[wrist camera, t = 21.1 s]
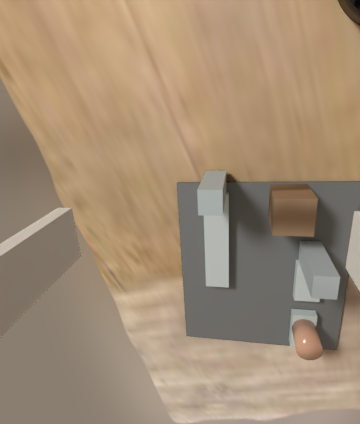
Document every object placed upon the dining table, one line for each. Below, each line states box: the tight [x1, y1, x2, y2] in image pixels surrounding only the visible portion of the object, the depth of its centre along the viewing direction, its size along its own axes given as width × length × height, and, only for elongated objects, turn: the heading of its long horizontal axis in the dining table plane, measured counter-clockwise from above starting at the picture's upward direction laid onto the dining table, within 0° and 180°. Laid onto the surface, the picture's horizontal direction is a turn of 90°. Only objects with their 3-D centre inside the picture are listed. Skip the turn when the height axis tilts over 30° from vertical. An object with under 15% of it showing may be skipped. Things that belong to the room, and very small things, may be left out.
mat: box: [177, 181, 360, 350], centre depth 53 cm, size 32×28×1 cm
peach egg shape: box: [292, 319, 323, 360], centre depth 51 cm, size 4×4×5 cm
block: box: [268, 184, 318, 237], centre depth 44 cm, size 6×6×7 cm
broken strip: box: [289, 241, 340, 347], centre depth 48 cm, size 20×4×10 cm, turn 3°
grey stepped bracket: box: [197, 171, 229, 288], centre depth 46 cm, size 20×4×10 cm, turn 3°
